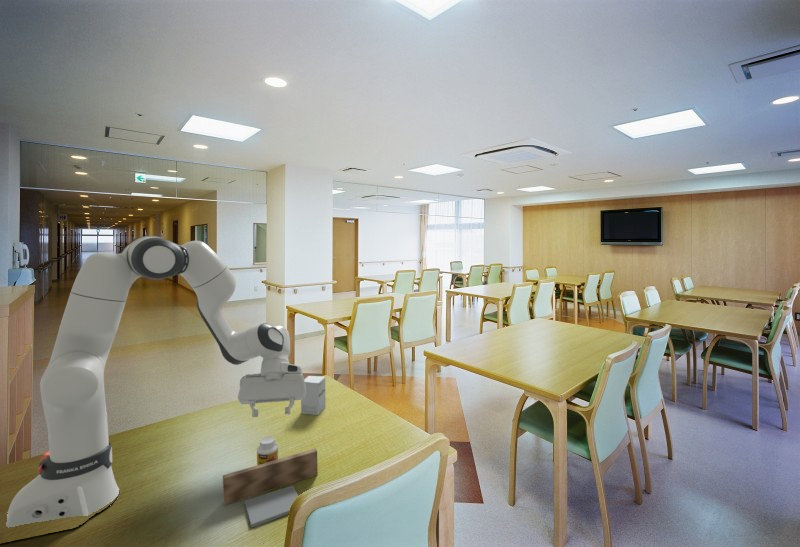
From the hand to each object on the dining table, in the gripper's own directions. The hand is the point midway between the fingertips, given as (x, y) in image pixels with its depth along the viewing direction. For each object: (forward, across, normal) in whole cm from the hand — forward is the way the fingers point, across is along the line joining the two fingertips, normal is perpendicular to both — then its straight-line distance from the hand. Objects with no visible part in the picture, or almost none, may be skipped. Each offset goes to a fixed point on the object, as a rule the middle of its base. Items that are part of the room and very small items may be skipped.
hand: (271, 415), depth 113 cm
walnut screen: (+20, +2, -1) cm, 20 cm away
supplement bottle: (+16, 0, +3) cm, 16 cm away
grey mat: (+25, +3, -7) cm, 26 cm away
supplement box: (-12, +11, +31) cm, 35 cm away
